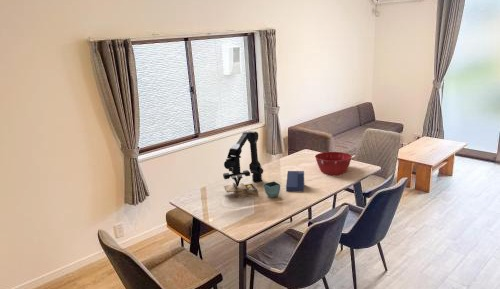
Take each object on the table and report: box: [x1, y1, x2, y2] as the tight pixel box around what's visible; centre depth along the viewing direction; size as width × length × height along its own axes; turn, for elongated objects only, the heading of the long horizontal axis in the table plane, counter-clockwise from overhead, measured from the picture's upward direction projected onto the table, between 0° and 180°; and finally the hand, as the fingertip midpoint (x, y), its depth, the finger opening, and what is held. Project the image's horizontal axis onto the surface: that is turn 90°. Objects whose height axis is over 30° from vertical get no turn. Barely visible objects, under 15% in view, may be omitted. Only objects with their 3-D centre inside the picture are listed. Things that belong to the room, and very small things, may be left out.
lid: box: [223, 182, 247, 194], centre depth 260 cm, size 14×13×3 cm
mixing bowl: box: [314, 151, 353, 176], centre depth 291 cm, size 28×28×16 cm
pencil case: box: [233, 183, 258, 199], centre depth 262 cm, size 15×13×4 cm
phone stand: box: [285, 170, 305, 193], centre depth 264 cm, size 12×12×12 cm
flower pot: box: [263, 181, 281, 198], centre depth 253 cm, size 9×9×9 cm
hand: (237, 186), depth 260 cm, fingers closed
